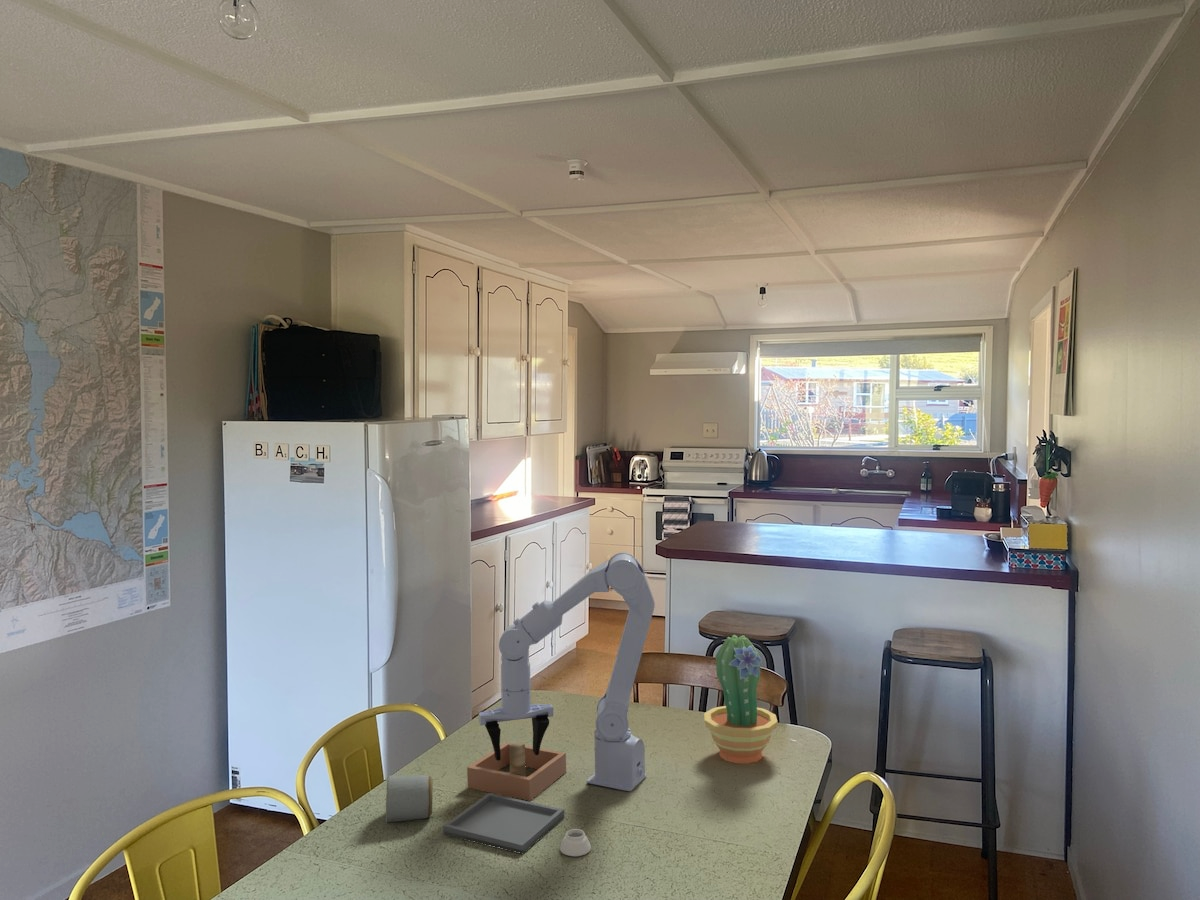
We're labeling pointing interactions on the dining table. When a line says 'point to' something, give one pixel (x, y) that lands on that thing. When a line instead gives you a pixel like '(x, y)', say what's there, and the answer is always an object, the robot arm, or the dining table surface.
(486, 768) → the terracotta planter box
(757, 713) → the potted cactus
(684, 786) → the dining table surface
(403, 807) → the ceramic mug
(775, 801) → the dining table surface
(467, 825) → the slate tray
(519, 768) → the maple pin
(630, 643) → the robot arm
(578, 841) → the white jar
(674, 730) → the dining table surface
